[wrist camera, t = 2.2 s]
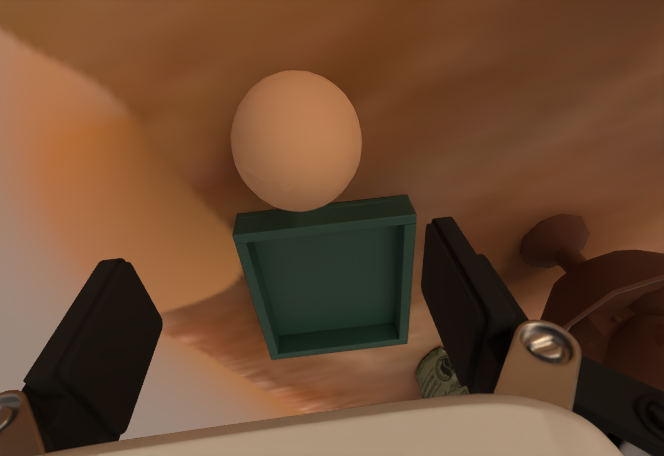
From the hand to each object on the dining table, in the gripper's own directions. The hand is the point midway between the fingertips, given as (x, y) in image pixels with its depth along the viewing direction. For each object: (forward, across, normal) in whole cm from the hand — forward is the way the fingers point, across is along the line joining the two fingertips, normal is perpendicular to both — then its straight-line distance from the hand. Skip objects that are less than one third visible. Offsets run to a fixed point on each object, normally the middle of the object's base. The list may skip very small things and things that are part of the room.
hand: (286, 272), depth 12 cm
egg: (+14, -1, 0) cm, 14 cm away
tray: (+14, -2, +14) cm, 19 cm away
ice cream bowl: (+14, -21, +13) cm, 28 cm away
